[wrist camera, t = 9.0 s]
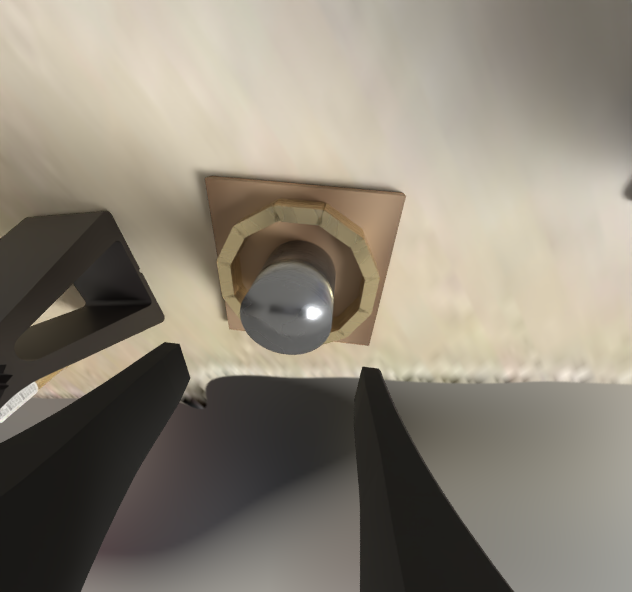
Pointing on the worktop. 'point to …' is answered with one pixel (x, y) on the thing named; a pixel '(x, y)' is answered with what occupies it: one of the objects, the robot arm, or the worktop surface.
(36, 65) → the worktop surface
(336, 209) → the ring plate
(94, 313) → the phone stand
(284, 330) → the cylinder
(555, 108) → the worktop surface
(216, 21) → the worktop surface
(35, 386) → the sprinkles bottle
